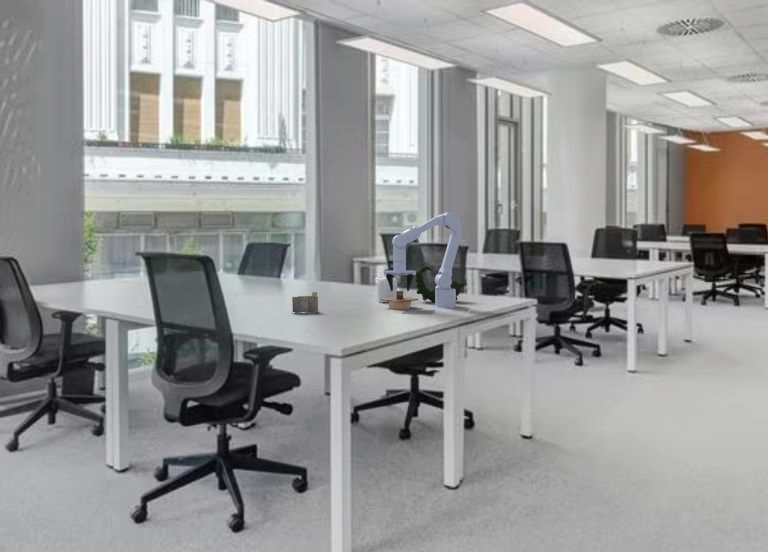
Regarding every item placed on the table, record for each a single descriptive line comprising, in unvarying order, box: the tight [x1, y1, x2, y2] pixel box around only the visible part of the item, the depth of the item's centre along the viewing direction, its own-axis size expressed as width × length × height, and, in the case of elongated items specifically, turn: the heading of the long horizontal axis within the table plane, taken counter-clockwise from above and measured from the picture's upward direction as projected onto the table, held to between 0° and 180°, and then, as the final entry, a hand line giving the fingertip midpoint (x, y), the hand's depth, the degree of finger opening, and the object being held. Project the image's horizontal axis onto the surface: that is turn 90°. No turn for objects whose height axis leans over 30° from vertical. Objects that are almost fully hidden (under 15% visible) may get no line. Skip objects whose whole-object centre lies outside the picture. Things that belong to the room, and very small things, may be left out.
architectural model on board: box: [291, 291, 319, 313], centre depth 309 cm, size 11×3×10 cm, turn 94°
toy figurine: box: [414, 265, 467, 303], centre depth 339 cm, size 9×19×25 cm
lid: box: [381, 290, 419, 303], centre depth 316 cm, size 12×12×4 cm
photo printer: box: [377, 276, 398, 304], centre depth 341 cm, size 10×4×12 cm, turn 123°
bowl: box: [388, 301, 412, 310], centre depth 316 cm, size 10×10×4 cm
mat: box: [401, 308, 437, 315], centre depth 302 cm, size 13×13×1 cm
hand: (400, 290), depth 316 cm, fingers open, 7 cm apart
